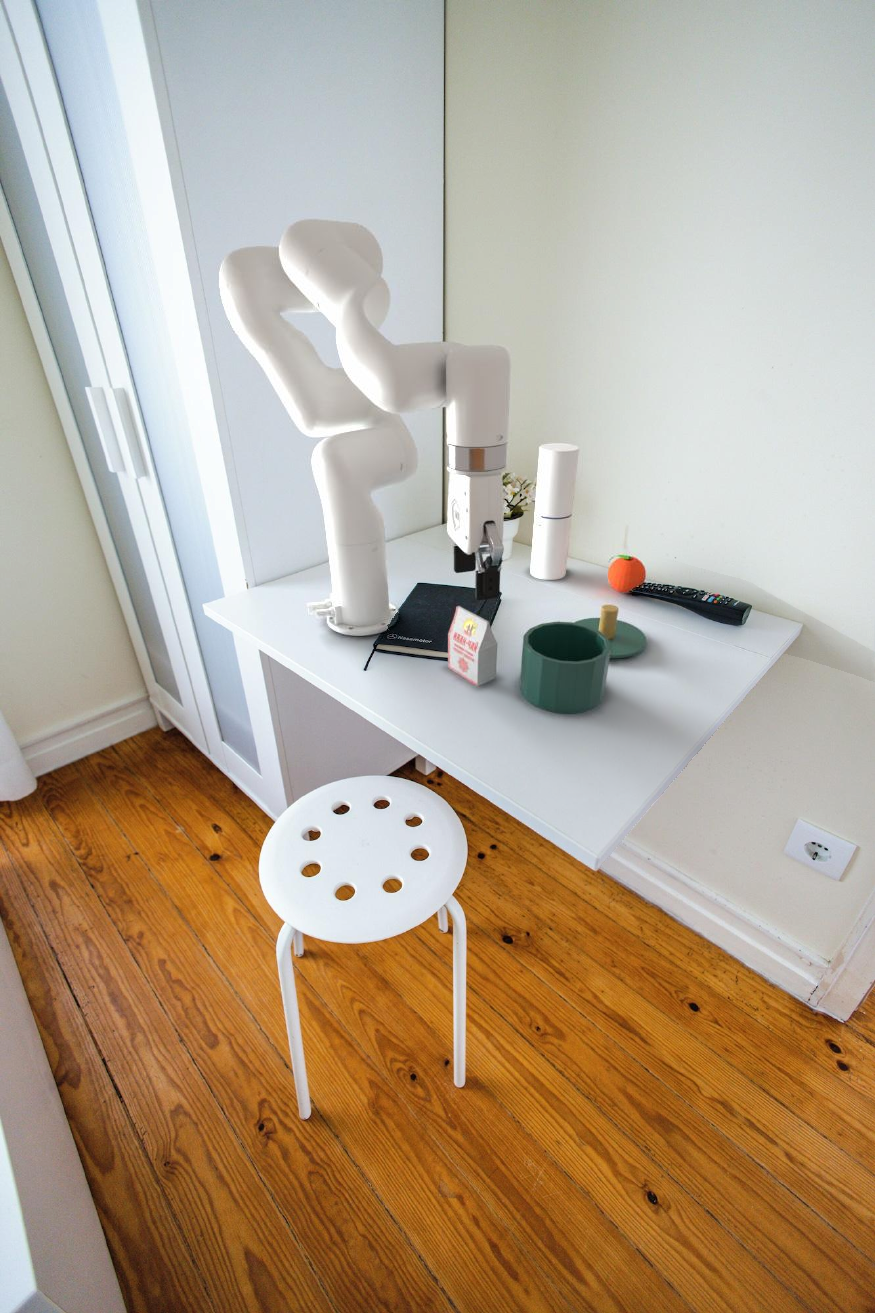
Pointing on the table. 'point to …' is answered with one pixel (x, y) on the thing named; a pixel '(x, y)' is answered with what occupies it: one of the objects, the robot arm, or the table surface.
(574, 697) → the tin
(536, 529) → the cylindrical container
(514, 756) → the table surface
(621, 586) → the clementine
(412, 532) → the table surface
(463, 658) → the tea bag
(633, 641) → the tin lid
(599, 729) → the table surface
